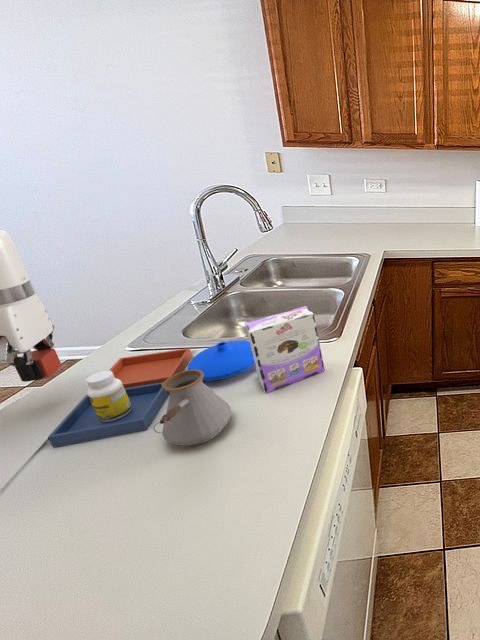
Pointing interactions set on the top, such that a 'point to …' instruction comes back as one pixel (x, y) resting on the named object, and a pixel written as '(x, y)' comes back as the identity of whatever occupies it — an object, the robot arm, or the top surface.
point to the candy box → (285, 348)
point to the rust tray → (150, 367)
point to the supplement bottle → (108, 396)
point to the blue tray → (89, 427)
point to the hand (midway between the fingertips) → (41, 371)
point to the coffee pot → (192, 410)
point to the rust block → (46, 361)
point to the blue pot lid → (223, 360)
